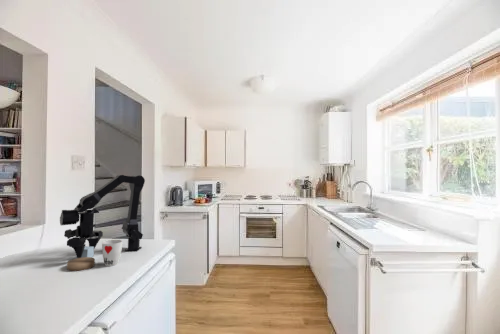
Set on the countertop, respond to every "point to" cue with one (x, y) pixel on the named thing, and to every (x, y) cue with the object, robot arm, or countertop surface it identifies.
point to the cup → (111, 251)
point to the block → (88, 251)
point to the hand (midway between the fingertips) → (85, 256)
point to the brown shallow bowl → (80, 264)
